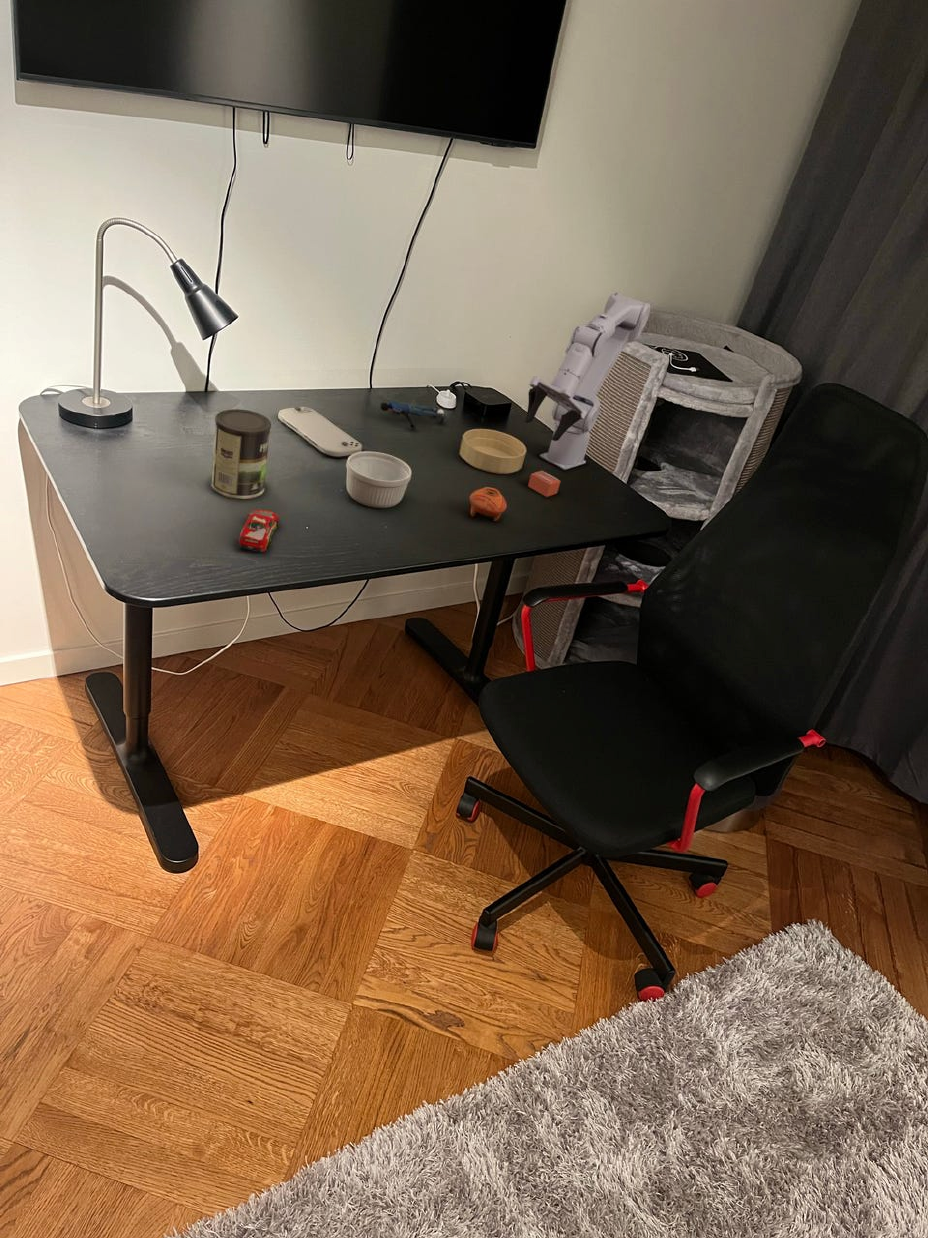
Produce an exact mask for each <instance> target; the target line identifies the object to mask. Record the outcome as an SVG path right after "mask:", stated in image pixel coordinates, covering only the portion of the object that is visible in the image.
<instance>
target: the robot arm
mask: <svg viewBox="0 0 928 1238" xmlns="http://www.w3.org/2000/svg"><path fill="white" fill-rule="evenodd" d="M650 314H651V304H650V303H649V302H643V301H641V300H638V299H635V298H632V297H629V296H626V295H624V294H621V293H619V292H616V291H614V292H613V293H611V294H610V296H609V297H608V298H607V301H606V303H605V306H604V312H603V313H600V314H597V315H596V316H594V317H593V318H592V319H591V320H590V321H589V322H587V324H585V325H583V324H581V325H580V326H579V325H578V326H576V327H575V328H574V330H573V331H572V334H571V336H570V339H569V343H568V345H567V347H566V350H565V356H564V358H563V360H562V361H561V363H560V366H559V367H558V370H557V371H556V373H555V376H554V377H553V379H552V381H551V383H549V382H547V381H545V380H544V379H542V378H540V377H538V375H536V376H532V377H531V379H530V381H529V384H528V386H530V387H531V388H529V390H528V406H527V411H526V412H527V413H526V415H525V420H524V422H525V423H526V424H528V423H532V422H533V420H534V419H535V417H536V414H537V413H538V410H539V409H540V407H541V405H542V403H544V400H546V397H547V398H549V399H550V400H552V401H553V402H554V405H553V407H552V410H551V417H552V420H553V421H554V422H553V424H554V425H555V427H554V430H553V434H552V438H551V440H550V445H549V447H548V450H547V451H548V452H544V453H540V455H539V458H541V459H543V460H545V461H547V462H548V463H550V464H552V465H554V466H555V467H558V468H559V469H562V470H564V471H566V470H568V469H572V468H575V467H578V466H581V465H585V464H586V463H587V461H586V460H585V456H586V453H587V449H588V446H589V443H590V439H591V434H590V431H591V430H593V428H594V426H595V424H596V422H597V419H598V416H599V414H600V412H601V401H600V399H599V397H598V393H599V391H600V390H601V388H602V386H603V385H604V383H605V381H606V380H607V377H608V376H609V374H610V372H611V371H612V369H613V368H614V365H615V364H616V362H617V360H618V358H619V357H620V355H621V354H622V352H623V350H624V349H625V348H626V347H627V345H628V344H629V343H634V342H636V340H637V339H638V338H639V337H640V335H641V334H642V332H643V330H644V328H645V327H646V325H647V322H648V319H649V317H650Z"/></svg>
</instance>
